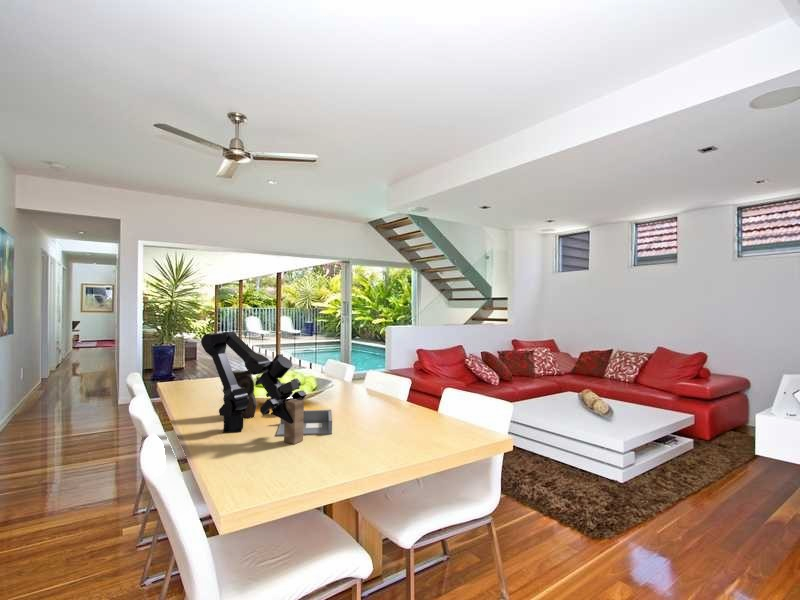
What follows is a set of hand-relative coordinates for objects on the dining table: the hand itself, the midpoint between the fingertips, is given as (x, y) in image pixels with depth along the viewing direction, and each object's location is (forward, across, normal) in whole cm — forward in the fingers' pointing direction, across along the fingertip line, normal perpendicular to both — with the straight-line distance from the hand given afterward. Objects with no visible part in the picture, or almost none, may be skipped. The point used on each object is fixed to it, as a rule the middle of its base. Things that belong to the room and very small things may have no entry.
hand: (297, 421), depth 147 cm
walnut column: (+4, 0, +6) cm, 7 cm away
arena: (0, +15, +11) cm, 18 cm away
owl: (-25, +18, +36) cm, 48 cm away
